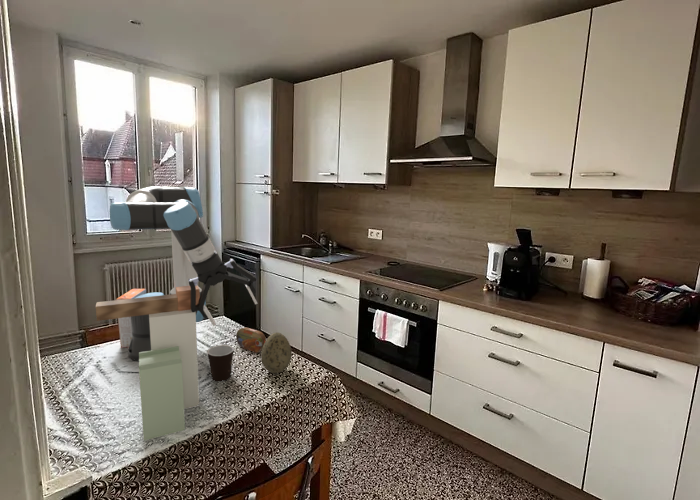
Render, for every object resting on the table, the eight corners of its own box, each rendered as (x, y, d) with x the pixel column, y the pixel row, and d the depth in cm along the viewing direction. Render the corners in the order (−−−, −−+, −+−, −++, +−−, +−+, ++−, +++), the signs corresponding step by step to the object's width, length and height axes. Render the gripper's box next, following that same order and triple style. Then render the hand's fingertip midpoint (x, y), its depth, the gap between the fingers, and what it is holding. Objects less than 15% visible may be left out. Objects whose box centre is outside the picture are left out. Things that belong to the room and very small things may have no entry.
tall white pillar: (155, 415, 111) (149, 317, 105) (154, 398, 119) (148, 306, 114) (199, 405, 116) (195, 312, 111) (195, 389, 125) (191, 302, 119)
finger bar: (96, 321, 101) (94, 300, 100) (97, 315, 105) (96, 294, 104) (200, 308, 114) (199, 289, 113) (197, 303, 118) (196, 284, 117)
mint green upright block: (143, 440, 100) (138, 366, 96) (143, 421, 108) (138, 352, 104) (184, 430, 105) (181, 359, 101) (181, 412, 113) (178, 346, 109)
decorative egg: (284, 381, 132) (284, 340, 129) (256, 376, 134) (255, 336, 132) (295, 366, 142) (296, 329, 140) (269, 362, 145) (268, 325, 142)
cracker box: (135, 334, 166) (132, 288, 162) (149, 334, 166) (147, 288, 163) (119, 348, 152) (115, 298, 148) (134, 348, 153) (131, 298, 149)
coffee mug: (226, 384, 128) (225, 357, 126) (203, 381, 130) (202, 354, 128) (242, 368, 139) (242, 343, 138) (221, 365, 141) (220, 340, 139)
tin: (235, 345, 158) (235, 326, 157) (241, 343, 161) (241, 324, 160) (262, 355, 151) (261, 335, 149) (267, 352, 153) (267, 332, 152)
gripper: (159, 282, 100) (197, 339, 110) (247, 240, 107) (275, 298, 117) (158, 271, 106) (194, 326, 117) (241, 232, 113) (268, 288, 123)
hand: (235, 312), depth 117 cm, fingers open, 13 cm apart
